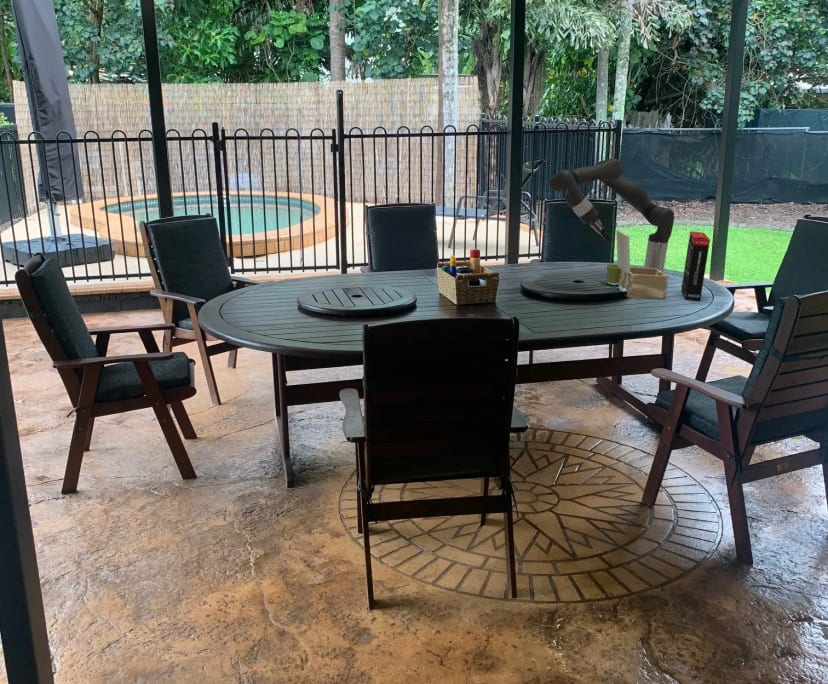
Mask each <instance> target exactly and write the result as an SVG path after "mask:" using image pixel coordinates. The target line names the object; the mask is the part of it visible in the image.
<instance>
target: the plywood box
mask: <svg viewBox="0 0 828 684" xmlns="http://www.w3.org/2000/svg"><path fill="white" fill-rule="evenodd" d="M668 283H669V276H668V275H667V274H666V273H665V272H664V271H663V272H661V271H660V270H658V269H656V268H644V267H635V266H630V275H629V276H628V275H627V274H626V273H624V272H623V271H622V270H621V271H620V278H619V285H621V286H622V287H623V288H625V289H626V290H627V295H625V296H626V297H627V298H629V299H630V298H632V299H633V298H634V299H635V298H636V299H649V300H650V299H652V300H666V297H667V296H666V294H667V289H668Z"/></svg>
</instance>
